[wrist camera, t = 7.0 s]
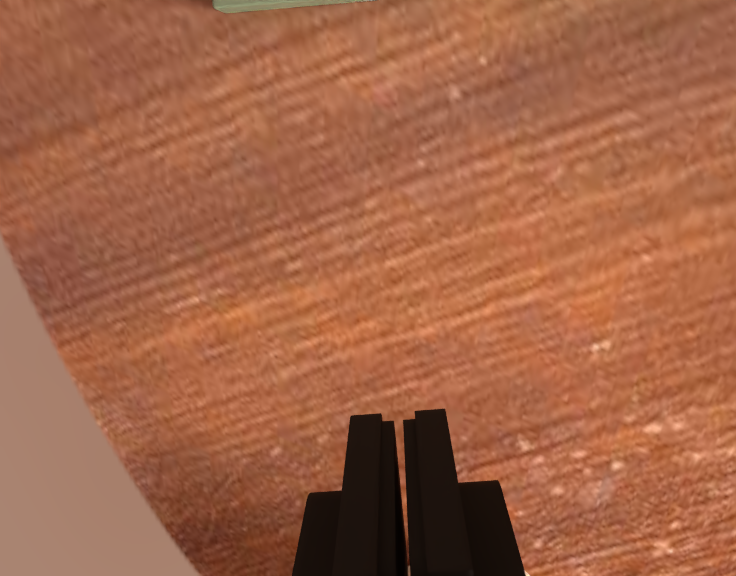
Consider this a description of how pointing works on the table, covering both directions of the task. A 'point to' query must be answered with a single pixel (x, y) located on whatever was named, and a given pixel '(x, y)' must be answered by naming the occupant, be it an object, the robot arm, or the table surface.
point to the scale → (270, 4)
